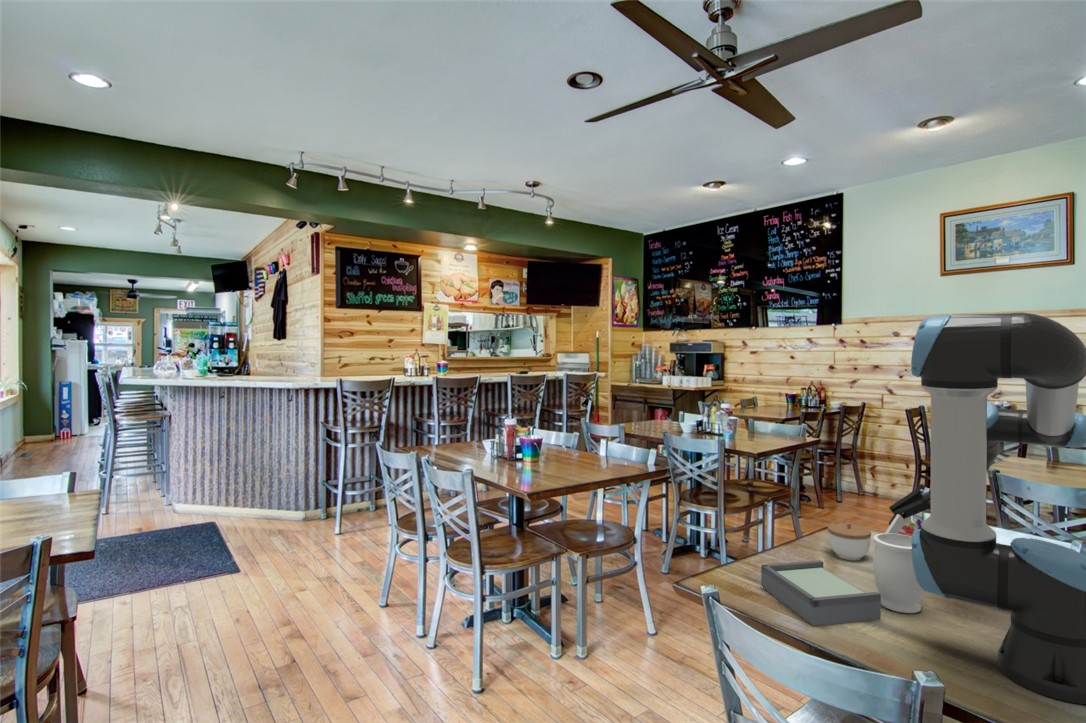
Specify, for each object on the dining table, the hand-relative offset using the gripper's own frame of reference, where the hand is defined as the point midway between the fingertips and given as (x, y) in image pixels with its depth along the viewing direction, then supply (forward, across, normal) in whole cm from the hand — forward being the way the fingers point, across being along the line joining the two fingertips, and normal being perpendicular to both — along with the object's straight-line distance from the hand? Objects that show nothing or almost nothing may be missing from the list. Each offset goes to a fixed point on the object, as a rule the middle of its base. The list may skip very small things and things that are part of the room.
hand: (914, 548), depth 132 cm
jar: (+13, -1, -5) cm, 14 cm away
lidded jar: (+2, +26, -15) cm, 30 cm away
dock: (+24, +7, +7) cm, 26 cm away
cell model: (-11, +16, -28) cm, 34 cm away
